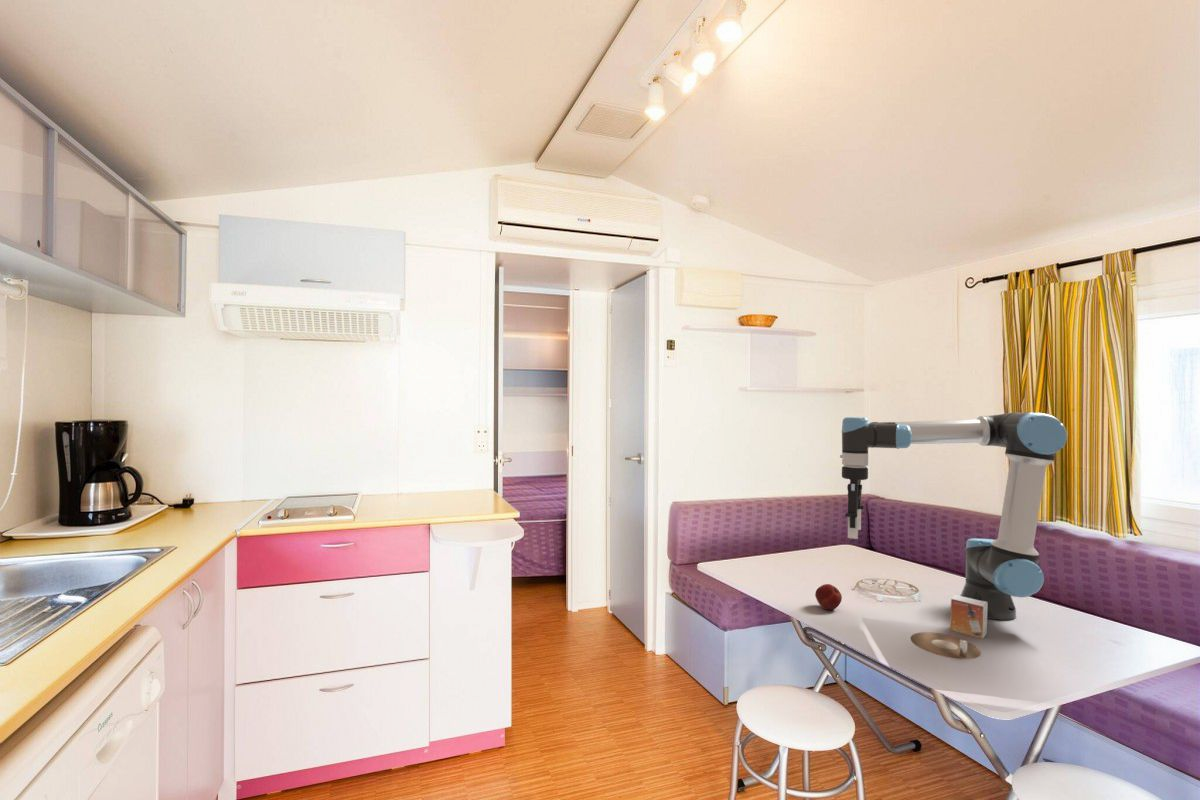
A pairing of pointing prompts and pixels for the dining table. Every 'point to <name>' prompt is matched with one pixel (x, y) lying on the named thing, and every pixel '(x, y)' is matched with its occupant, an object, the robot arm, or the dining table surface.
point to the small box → (968, 616)
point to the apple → (828, 596)
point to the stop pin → (963, 648)
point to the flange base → (943, 645)
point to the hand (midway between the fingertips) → (854, 533)
